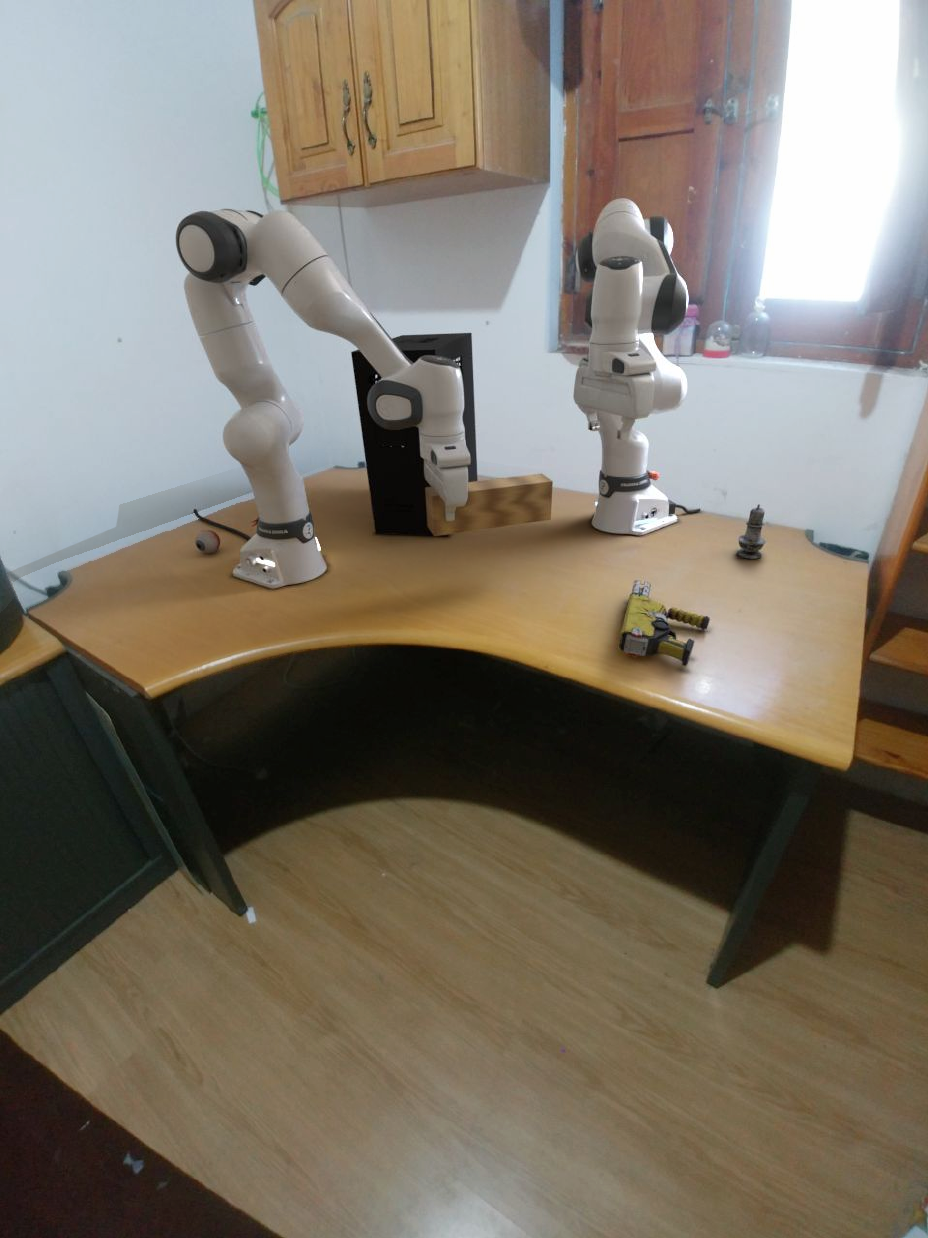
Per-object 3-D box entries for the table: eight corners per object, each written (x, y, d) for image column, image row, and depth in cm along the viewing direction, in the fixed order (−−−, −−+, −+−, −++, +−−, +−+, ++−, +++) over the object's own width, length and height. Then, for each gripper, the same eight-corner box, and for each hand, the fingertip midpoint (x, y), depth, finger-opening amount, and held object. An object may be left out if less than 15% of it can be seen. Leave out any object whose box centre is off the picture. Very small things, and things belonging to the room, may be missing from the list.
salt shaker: (765, 559, 136) (776, 508, 130) (737, 558, 137) (747, 508, 131) (759, 549, 141) (770, 499, 135) (733, 548, 142) (742, 499, 136)
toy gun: (711, 591, 118) (634, 577, 122) (713, 651, 98) (620, 632, 102) (705, 612, 120) (629, 597, 124) (706, 675, 100) (615, 655, 104)
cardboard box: (448, 536, 158) (435, 349, 135) (375, 533, 162) (351, 351, 140) (477, 490, 189) (471, 332, 167) (416, 489, 194) (401, 335, 171)
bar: (540, 511, 134) (541, 473, 129) (550, 520, 129) (552, 480, 125) (427, 526, 128) (425, 487, 123) (434, 536, 123) (432, 495, 118)
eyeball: (192, 555, 155) (186, 534, 152) (210, 546, 160) (204, 525, 157) (210, 558, 153) (204, 536, 150) (227, 548, 158) (222, 527, 155)
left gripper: (414, 435, 125) (418, 499, 132) (440, 461, 108) (442, 533, 115) (444, 433, 127) (446, 496, 134) (473, 458, 110) (474, 529, 117)
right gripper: (567, 355, 119) (564, 427, 125) (634, 366, 102) (627, 448, 109) (593, 352, 121) (590, 423, 128) (663, 362, 104) (654, 442, 111)
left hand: (445, 513), depth 124 cm, fingers closed on bar, 6 cm apart
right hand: (607, 434), depth 118 cm, fingers open, 8 cm apart
